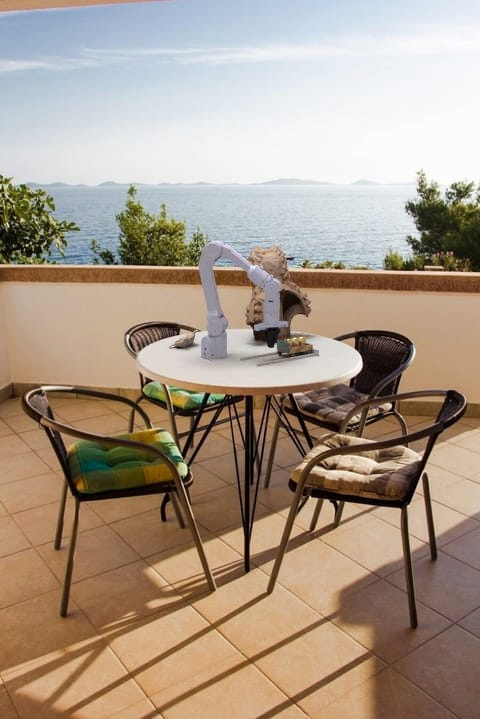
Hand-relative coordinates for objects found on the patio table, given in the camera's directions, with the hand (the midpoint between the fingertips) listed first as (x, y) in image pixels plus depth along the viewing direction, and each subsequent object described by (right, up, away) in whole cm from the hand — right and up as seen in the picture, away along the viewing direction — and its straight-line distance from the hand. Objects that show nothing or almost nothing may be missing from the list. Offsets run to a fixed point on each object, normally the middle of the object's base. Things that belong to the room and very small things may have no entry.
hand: (270, 347), depth 248 cm
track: (+3, -5, +3) cm, 6 cm away
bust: (+3, +4, +38) cm, 38 cm away
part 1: (+7, -1, +4) cm, 8 cm away
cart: (+9, -3, +7) cm, 12 cm away
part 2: (+10, 0, +6) cm, 11 cm away
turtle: (-35, +1, +24) cm, 42 cm away
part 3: (+12, 0, +8) cm, 15 cm away
